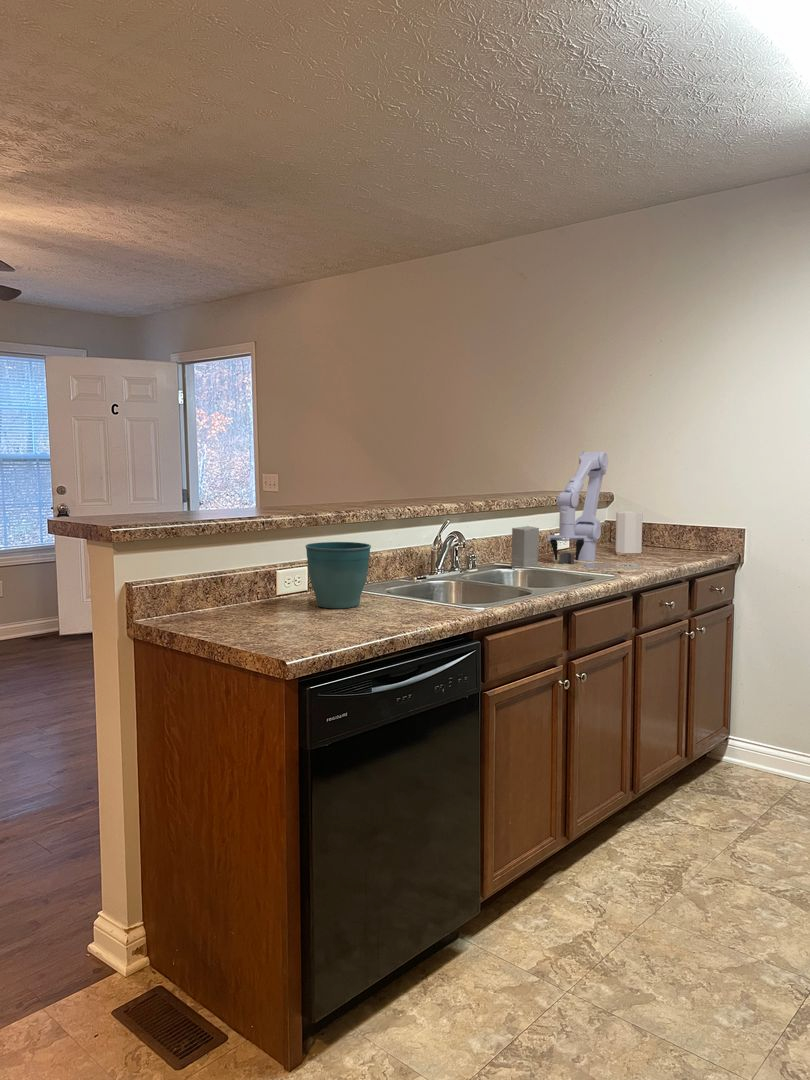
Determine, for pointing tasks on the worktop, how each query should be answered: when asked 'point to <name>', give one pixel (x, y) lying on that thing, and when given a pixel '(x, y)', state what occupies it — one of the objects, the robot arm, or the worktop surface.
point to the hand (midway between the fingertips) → (566, 559)
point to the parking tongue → (565, 563)
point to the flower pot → (338, 572)
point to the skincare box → (525, 546)
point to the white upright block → (629, 531)
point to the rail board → (611, 565)
